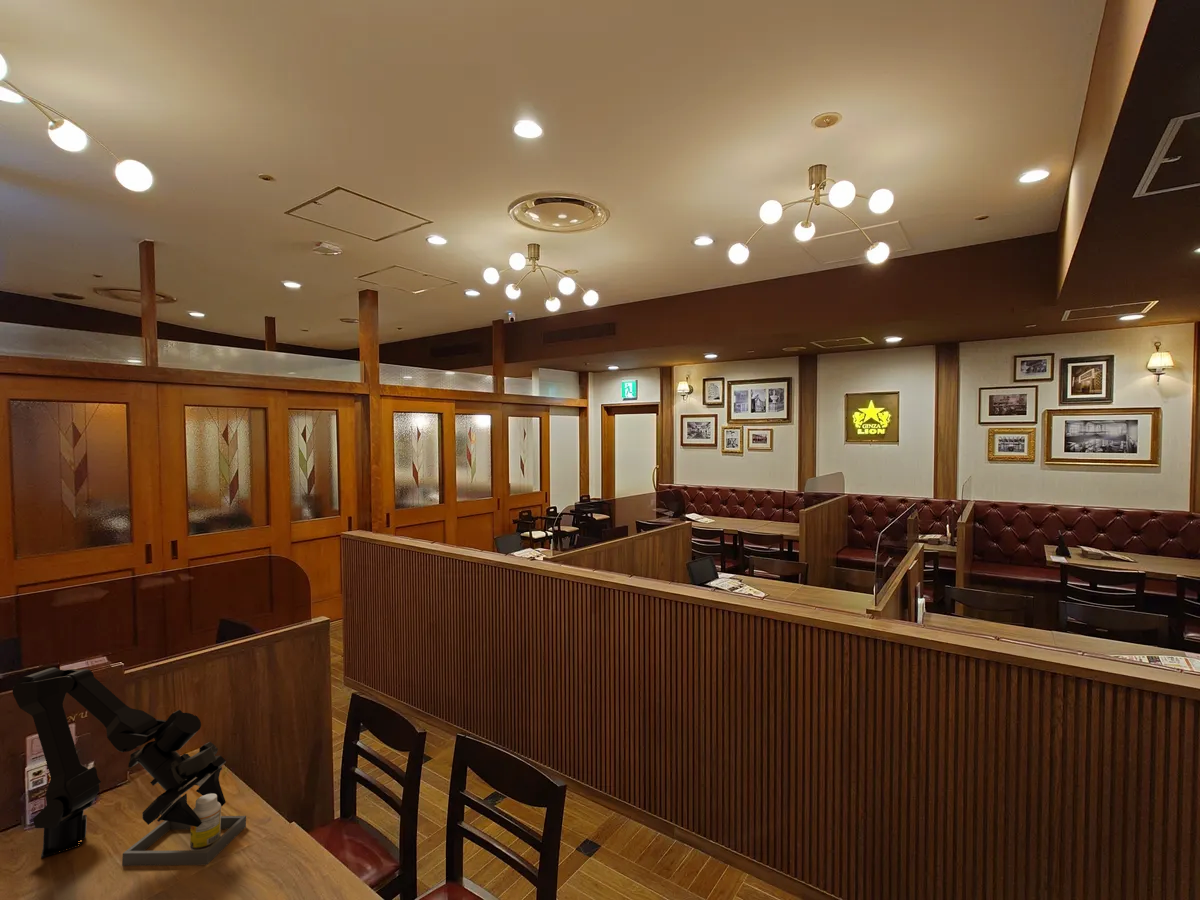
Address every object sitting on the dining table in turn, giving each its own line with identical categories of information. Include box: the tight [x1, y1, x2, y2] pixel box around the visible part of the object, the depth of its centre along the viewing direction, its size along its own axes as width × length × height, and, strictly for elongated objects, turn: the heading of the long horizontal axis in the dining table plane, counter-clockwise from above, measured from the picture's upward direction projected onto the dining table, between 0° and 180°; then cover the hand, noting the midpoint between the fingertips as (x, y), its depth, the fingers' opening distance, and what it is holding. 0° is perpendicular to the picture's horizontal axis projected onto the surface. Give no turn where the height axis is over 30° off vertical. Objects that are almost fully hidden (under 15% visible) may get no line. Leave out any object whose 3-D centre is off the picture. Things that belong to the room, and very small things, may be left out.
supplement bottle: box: [189, 794, 222, 850], centre depth 125 cm, size 6×6×10 cm
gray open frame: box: [121, 815, 247, 867], centre depth 124 cm, size 18×13×2 cm
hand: (212, 814), depth 125 cm, fingers open, 7 cm apart
